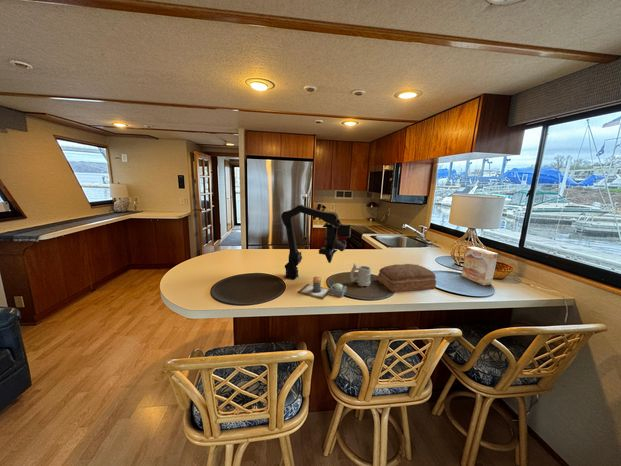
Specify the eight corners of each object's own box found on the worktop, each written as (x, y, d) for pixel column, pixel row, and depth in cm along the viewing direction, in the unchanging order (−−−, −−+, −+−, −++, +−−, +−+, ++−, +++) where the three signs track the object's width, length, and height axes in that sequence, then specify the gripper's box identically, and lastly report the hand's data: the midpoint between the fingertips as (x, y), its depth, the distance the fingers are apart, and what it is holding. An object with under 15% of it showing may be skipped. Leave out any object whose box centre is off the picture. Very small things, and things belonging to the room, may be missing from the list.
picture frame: (297, 292, 124) (297, 291, 124) (307, 284, 134) (307, 283, 134) (322, 299, 118) (322, 297, 118) (331, 290, 128) (331, 289, 128)
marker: (311, 291, 125) (311, 278, 123) (314, 288, 128) (315, 276, 127) (318, 293, 123) (319, 280, 121) (321, 290, 126) (322, 277, 125)
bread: (375, 280, 145) (377, 262, 142) (417, 277, 152) (420, 259, 149) (391, 293, 129) (393, 273, 126) (437, 289, 136) (441, 269, 133)
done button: (332, 292, 125) (332, 285, 124) (335, 289, 129) (335, 282, 128) (340, 295, 123) (341, 287, 122) (343, 291, 127) (343, 284, 126)
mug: (371, 287, 134) (373, 267, 131) (349, 286, 134) (351, 265, 132) (368, 281, 141) (370, 262, 139) (348, 280, 142) (350, 261, 139)
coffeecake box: (460, 275, 156) (466, 246, 152) (469, 274, 158) (474, 246, 154) (483, 285, 142) (490, 253, 138) (492, 284, 145) (498, 253, 140)
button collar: (329, 293, 124) (329, 288, 124) (333, 288, 130) (334, 283, 130) (342, 297, 121) (342, 291, 121) (346, 291, 127) (346, 286, 127)
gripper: (339, 241, 120) (337, 271, 123) (350, 234, 136) (348, 260, 140) (318, 238, 125) (317, 266, 128) (332, 231, 141) (330, 257, 144)
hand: (329, 262), depth 135 cm, fingers closed
